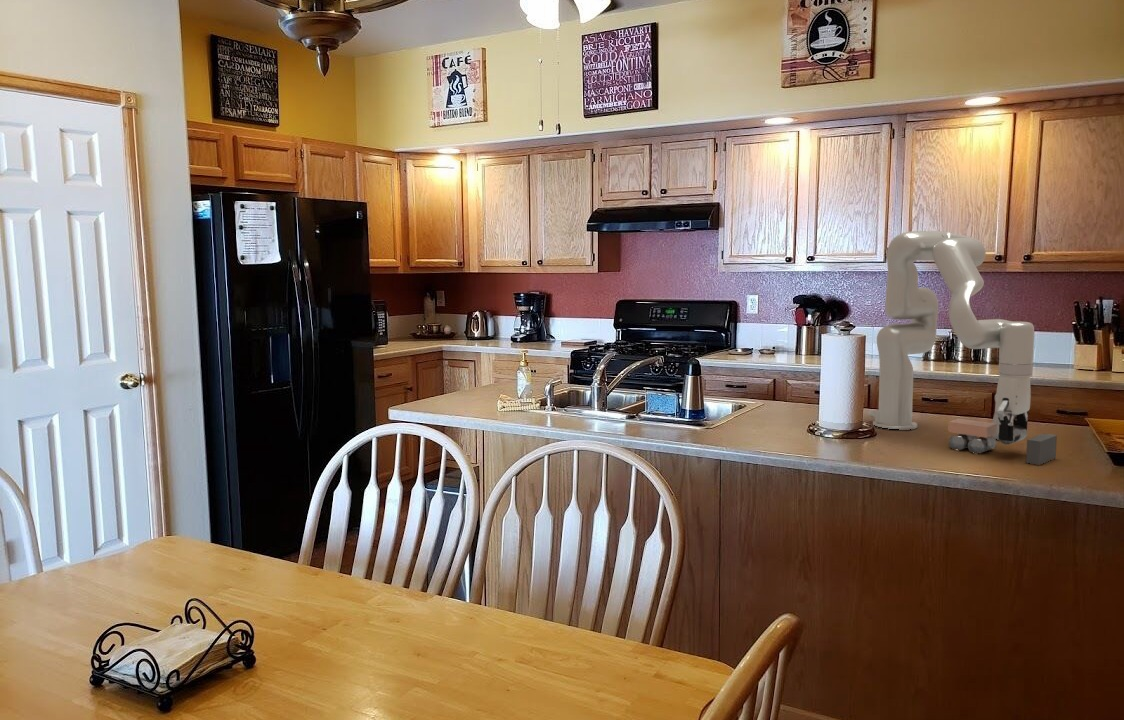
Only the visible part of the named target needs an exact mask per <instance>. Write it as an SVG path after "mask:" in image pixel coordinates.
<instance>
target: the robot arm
mask: <svg viewBox="0 0 1124 720" xmlns="http://www.w3.org/2000/svg"><path fill="white" fill-rule="evenodd" d="M986 255H987V253H986V248H985V246H984V244H983V243H982V242H981V241H980V240H979V239H978V238H975V237H972V236H966V235H964V234H959V233H955V232H950V231H945V230H930V231H929V230H928V231H927V230H914V231H913V230H911V231H906V232H902V233H900V234H897V235H896V236H895V237H894V238H892V240H891V241H890V242H889V244H888V247H887V250H886V263H887V264H886V265H887V278H886V279H887V280H886V289H885V302H884V310H885V313H886V316H887V317H888V318H889V319H892V320H898V321H899V320H900V321H901V320H902V321H903V320H910V322H908V323H907V322H905V323H904V322H903V323H893V324H888V325H885V326H884V327H882V328H881V329H880V330H879V331H878V333H877V336H876V346H877V351H878V360H879V374H878V375H879V377H878V378H879V380H878V381H879V383H878V388H879V389H878V410H873V409H869V410H868V411H867V417H869V418H870V417H871V418H874V420H873V421H872V426H874V425H875V426H878V427H882V428H888V429H887V430H889V429H899V430H898V431H909V430H910V429H911V430H916V429H917V428H918V422H915V421H913V398H914V397H913V396H914V395H913V394H914V390H913V389H914V367H913V364H912V361H911V360H910V357H909V356H910V355H919V354H924V353H927V352H929V351H931V349H932V348H933V347H934V345H935V342H936V337H937V328H938V319H939V305H940V304H939V299H938V296H937V295H936V293H935V292H934V291H933V290H932V289H930V288H927V287H923V286H921V287H920V286H919V287H918V283H919V272H918V267H917V266H916V264H915V261H934V264H935V266H936V267H937V270H938V271H939V273H940V275H941V277H942V280H944V283H945V284H946V287H947V289H948V291H949V292H950V293H949V294H950V295H951V298H950V301H949V305H948V318H949V323H950V325H951V326H950V327H952V329H953V331H954V334H955V336H956V337H957V339H958V340H959V342H960V343H961V344H962V345H963V347H964V346H965V347H966V348H968V349H971V350H980V349H981V350H982V349H996V348H998V349H999V350H998V352H999V353H998V376H999V377H998V379H997V380H998V381H997V386H996V394H995V395H996V401H995V407H994V413H995V412H996V413H997V414H998V416H999V417H998V419H999V440H998V441H1000V440H1004V441H1013V426H1014V425H1022V426H1024V427H1025V428H1026V430H1027V431H1028V422H1029V421H1028V420H1029V416H1028V414H1030V413H1029V411H1030V409H1031V399H1032V398H1031V396H1032V395H1031V394H1032V393H1031V378H1032V377H1033V370H1034V368H1033V367H1034V348H1035V347H1034V342H1035V340H1034V339H1035V326H1034V325H1033V323H1032V322H1030V321H1029V322H1028V321H1011V320H1006V319H1001V318H996V319H978V320H977V317H976V315H975V314H974V313H973V310H972V308H971V302H970V301H971V297H973V296H974V295H975V294H977V293H979V292H980V290H982V288H983V287H984V285H985V281H984V279H983V277H982V275H981V274H980V272H979V270H978V268H977V267H980V266H981V265H982V264H983V263H984V261H985V259H986ZM1005 412H1011V413H1005ZM1008 417H1009V420H1008ZM1012 423H1013V426H1012ZM875 426H874V427H875ZM878 427H877V428H878ZM882 428H881V429H882ZM911 430H910V431H911Z"/></svg>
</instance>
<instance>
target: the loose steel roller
mask: <svg viewBox="0 0 1124 720" xmlns="http://www.w3.org/2000/svg"><path fill="white" fill-rule="evenodd" d="M1027 437H1028V429H1027V430H1026V428H1025V427H1024V426H1022V425H1014V426H1013V441H1004V440H999V441H1000V442H1001V443H1002V444H1004V445H1011V444H1014V443H1017V442H1020V441H1022V440H1025V439H1026V438H1027ZM998 438H999V433H998Z"/></svg>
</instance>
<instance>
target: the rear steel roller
mask: <svg viewBox="0 0 1124 720" xmlns="http://www.w3.org/2000/svg"><path fill="white" fill-rule="evenodd" d="M975 438H977V436H973V435H966V434H959V433H958V434H957V435H953V436H951V437H950V438H949V439H948V445H949V447H950V449H951V448H952V449H951V450H953V449H958V450H959V451H962V450H965V449H968V442H969V441H970V440H972V439H975Z"/></svg>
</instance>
